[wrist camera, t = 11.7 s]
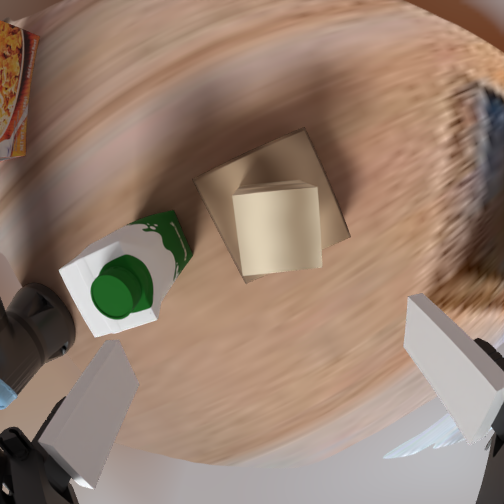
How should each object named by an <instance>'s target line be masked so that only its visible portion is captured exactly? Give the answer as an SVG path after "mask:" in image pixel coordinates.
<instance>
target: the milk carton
mask: <svg viewBox="0 0 504 504" xmlns="http://www.w3.org/2000/svg"><path fill="white" fill-rule="evenodd" d="M192 256H193V254H192V252H191V249H190V247H189V245H188V243H187V240H186V238H185V236H184V233H183V231H182V229H181V226H180V224H179V221H178V219H177V217H176V214H175V212H174V210H172V211H167V212H162V213H158V214H154V215H150V216H147V217H144V218H142V219H139V220H137V221H134V222H132V223H129V224H127V225H125V226H124V227H122V228H120V229H118V230H116V231H114V232H112V233H111V234H109V235H107V236H105V237H103V238H101V239H100V240H98V241H96V242H94V243H92V244H90V245H89V246H87V247H86V248H85V249H84V250H83V251H82V252H81V253H80V254H79V255H78V256H77V257H75V258H74V259H73V260H71V261H70V262H69V263H67V264H66V265H64V266H63V267H62V268H60V269H59V272H60V274H61V276H62V278H63V281H64V283H65V285H66V287H67V289H68V291H69V292H70V294H71V296H72V298H73V300H74V302H75V304H76V306H77V307H78V309H79V311H80V313H81V315H82V316H83V318H84V320H85V322H86V323H87V325H88V327H89V329H90V330H91V332H92V334H93V335H94V337H99V336H103V335H106V334H110V333H113V334H115V333H118V332H121V331H123V330H127V329H130V328H133V327H137V326H140V325H143V324H146V323H149V322H153V321H156V320H157V319H158V316H159V311H160V306H161V302H162V300H163V298H164V297H165V295H166V294H167V292H168V291H169V289H170V288H171V286H172V285H173V283H174V282H175V280H176V279H177V277H178V276H179V274H180V273H181V271H182V270H183V269H184V267H185V266H186V264H187V263H188V262H189V260H190V259H191V257H192Z"/></svg>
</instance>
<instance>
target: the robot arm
mask: <svg viewBox="0 0 504 504" xmlns="http://www.w3.org/2000/svg"><path fill="white" fill-rule="evenodd" d="M74 340H75V328H74V324H73V321H72V318H71V316H70V314H69V312H68V310H67V308H66V306H65V305H64V304H63V302H62V301H61V300H60V298H59V297H58V296H57V295H56V294H55V293H54V292H53V291H51V290H50V289H49V288H47V287H45V286H44V285H41V284H38V283H30V284H27V285H26V286H24V287H23V288H21V289H20V290H19V291H18V292H17V293H16V295H15V296H14V298H13V300H12V301H11V303H10V305H9V306H8V308H7V310H6V311H5V309H4V306H3V303H2V300H1V297H0V410H1V409H5V408H6V407H7V406H8V405H9V404H10V403H11V402H12V401H13V400H14V399H16V398H17V396H18V394H19V393H20V392H21V391H22V389H23V388H24V387H25V386H26V385H27V383H28V382H29V381H30V380H31V379H32V377H33V376H34V375H35V374H36V373H37V371H38V370H39V369H40V368H41V367H42V366H43V365H44V364H45V363H47V362H49V361H52V360H54V359H56V358H58V357H61V356H63V355H64V354H65V353H67V351H68V350H69V349H70V348H71V347H72V345H73V343H74ZM403 347H404V348H405V349H406V351H407V352H408V354H409V355H410V356H411V358H412V359H413V361H414V362H415V363H416V365H417V366H418V368H419V369H420V371H421V372H422V373H423V375H424V376H425V378H426V379H427V381H428V382H429V384H430V385H431V387H432V388H433V390H434V391H435V393H436V394H437V396H438V397H439V399H440V400H441V402H442V403H443V405H444V406H445V408H446V409H447V411H448V412H449V414H450V415H451V417H452V419H453V420H454V422H455V423H456V425H457V427H458V428H459V430H460V431H461V433H462V435H463V436H464V438H465V440H466V441H467V443H468V445H471V444H473V443H475V442H477V441H479V440H480V439H482V438H484V437H485V436H486V434H487V433H488V431H489V429H490V428H491V427H492V428H493V429H494V431H495V433H494V434H493V436H492V437H491V439H490V441H489V442H488V444H487V446H486V448H485V450H487V449H488V448H489V446H490V445H491V447H490V452H489V457H488V461H487V465H486V470H485V474H484V477H483V481H482V485H481V488H480V491H479V495H478V498H477V501H476V504H504V358H503V357H502V355H501V354H500V353H499V352H496V349H495V348H494V347H493V346H492V345H490V344H489V343H488V342H486V341H484V340H482V339H480V338H477V339H475V340H472V339H471V338H470V337H469V336H468V335H467V334H466V333H465V332H464V331H463V330H462V329H461V328H460V327H459V326H458V325H457V324H456V323H455V322H454V321H452V320H451V319H450V318H449V317H448V316H447V315H446V314H445V313H444V312H443V311H442V310H441V309H439V308H438V307H437V306H436V305H435V304H434V303H433V302H432V301H431V300H429V299H428V298H427V297H426V296H425V295H424V294H423V293H420V294H416V295H412V296H408V304H407V317H406V328H405V337H404V346H403ZM138 386H139V382H138V380H137V378H136V376H135V374H134V372H133V370H132V368H131V365H130V363H129V361H128V359H127V357H126V354H125V352H124V350H123V348H122V345H121V343H120V341H119V340H106V341H105V343H104V344H103V345H102V347H101V348H100V349H99V351H98V352H97V354H96V355H95V356H94V358H93V359H92V361H91V362H90V363H89V365H88V366H87V368H86V369H85V370H84V372H83V373H82V375H81V376H80V378H79V379H78V380H77V382H76V383H75V385H74V386H73V388H72V389H71V391H70V392H69V394H68V395H67V397H66V396H65V397H64V398H63V399H61V400H60V401H59V402H58V403H57V404H56V405H55V407H54V408H53V410H52V411H51V413H50V414H49V416H48V417H47V420H45V422H44V423H43V425H42V426H41V428H40V430H39V431H38V433H37V434H36V436H35V438H34V439H33V440H32V442H30V441H29V440H28V438H27V437H26V436H25V435H24V433H23V432H22V431H21V430H20V429H19V428H17V427H9V428H7V429H5V430H4V431H3V432H2V433H1V434H0V447H1V448H2V450H3V451H2V450H1V449H0V504H79V503H78V500H77V497H76V495H75V492H74V489H73V487H72V485H71V484H70V483H69V481H70V479H71V478H72V479H74V480H75V482H77V483H78V484H79V485H80V486H84V487H87V488H91V489H95V488H96V485H97V482H98V480H99V477H100V475H101V472H102V470H103V467H104V465H105V462H106V460H107V457H108V455H109V453H110V450H111V448H112V446H113V443H114V441H115V438H116V436H117V434H118V431H119V429H120V427H121V424H122V422H123V420H124V418H125V415H126V413H127V411H128V408H129V406H130V404H131V402H132V400H133V397H134V395H135V393H136V391H137V388H138ZM3 485H4V486H5V487H6V488H7V489H8V490H9V494H8V495H7V494H6V493H5V492H4V491H3V490H2V486H3Z"/></svg>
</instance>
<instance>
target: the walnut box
mask: <svg viewBox="0 0 504 504" xmlns="http://www.w3.org/2000/svg"><path fill="white" fill-rule="evenodd" d="M192 180H193V182H194V184H195V186H196V188H197V190H198V192H199V194H200V196H201V198H202V200H203V202H204V204H205V206H206V208H207V210H208V212H209V214H210V216H211V218H212V220H213V222H214V224H215V226H216V228H217V230H218V232H219V234H220V236H221V237H222V239H223V241H224V243H225V245H226V247H227V249H228V251H229V253H230V255H231V257H232V259H233V261H234V263H235V265H236V266H237V268H238V270H239V272H240V274H241V276H242V278H243V280H244V282H245V284H247V283H249V282H251V281H254V280H256V279H258V278H260V277H263V276H265V275H267V274H270V273H267V274H257V275H248V276H243V274H242V266H241V259H240V251H239V244H238V236H237V229H236V221H235V213H234V205H233V198H232V195H233V194H234V193H235V191H236V190H237V189H238V188H239V186H243V185H252V184H261V183H271V182H281V181H291V180H301V181H303V182H306V183H308V184H311V185H313V186H316V187H317V188H318V201H319V215H320V230H321V249H322V250H324V249H326V248H328V247H330V246H332V245H334V244H337V243H339V242H341V241H343V240H345V239H348V238H350V237H351V235H350V233H349V230H348V227H347V225H346V222H345V219H344V217H343V214H342V212H341V209H340V207H339V204H338V202H337V199H336V197H335V194H334V192H333V189H332V187H331V185H330V182H329V180H328V178H327V175H326V173H325V171H324V168H323V166H322V164H321V162H320V159H319V157H318V155H317V153H316V150H315V148H314V146H313V144H312V142H311V140H310V138H309V135H308V133H307V131H306V129H305V127H303V128H301V129H298V130H296V131H294V132H291V133H289V134H286V135H284V136H282V137H280V138H277V139H275V140H273V141H270V142H268V143H266V144H264V145H261V146H259V147H257V148H255V149H253V150H251V151H248V152H246V153H244V154H242V155H240V156H238V157H236V158H234V159H232V160H230V161H227V162H225V163H223V164H221V165H219V166H217V167H215V168H213V169H211V170H209V171H207V172H205V173H203V174H202V175H200V176H198V177H196V178H194V179H192Z"/></svg>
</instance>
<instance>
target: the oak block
mask: <svg viewBox="0 0 504 504" xmlns="http://www.w3.org/2000/svg"><path fill="white" fill-rule="evenodd" d="M232 198H233V205H234V213H235V221H236V229H237V236H238V244H239V251H240V259H241V266H242V274H243V276H248V275H257V274H267V273H277V272H286V271H295V270H304V269H313V268H322V249H321V230H320V215H319V201H318V188H317V187H316V186H313V185H311V184H308V183H306V182H303V181H301V180H291V181H281V182H271V183H261V184H252V185H243V186H239V188H238V189H237V190H236V191H235V193H234V194H233V195H232Z"/></svg>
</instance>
